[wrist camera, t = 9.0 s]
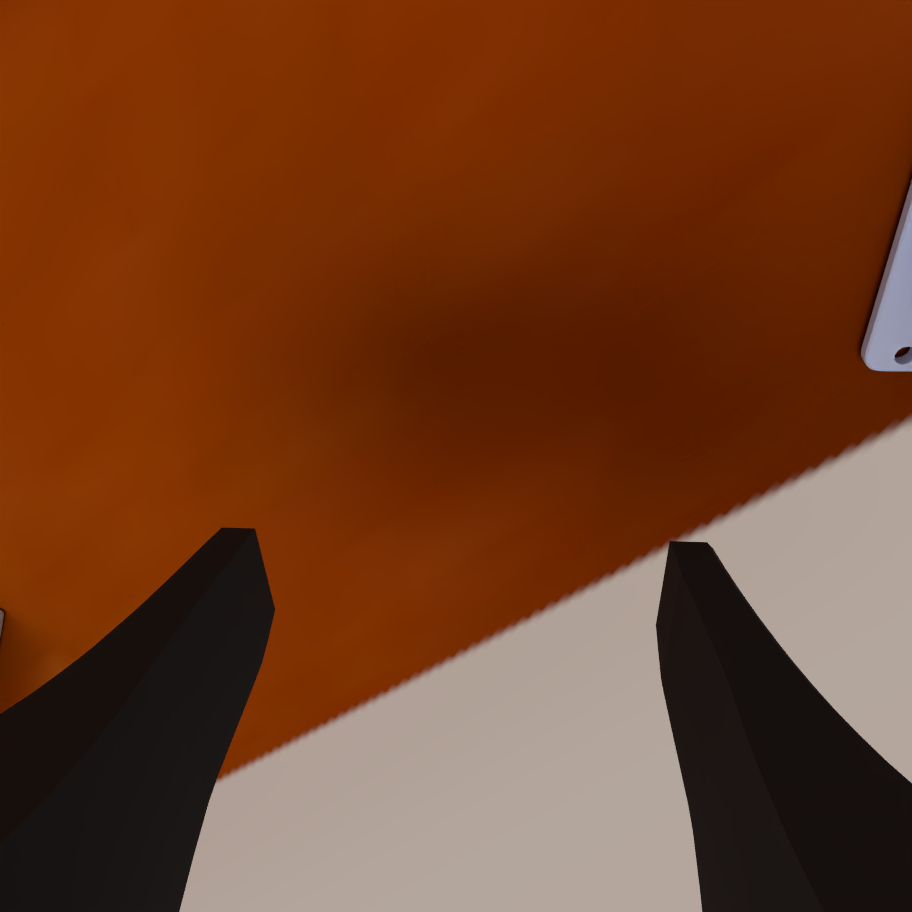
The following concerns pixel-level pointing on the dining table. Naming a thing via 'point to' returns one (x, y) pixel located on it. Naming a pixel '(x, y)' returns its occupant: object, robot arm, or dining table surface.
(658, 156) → the dining table surface
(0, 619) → the coffee box
